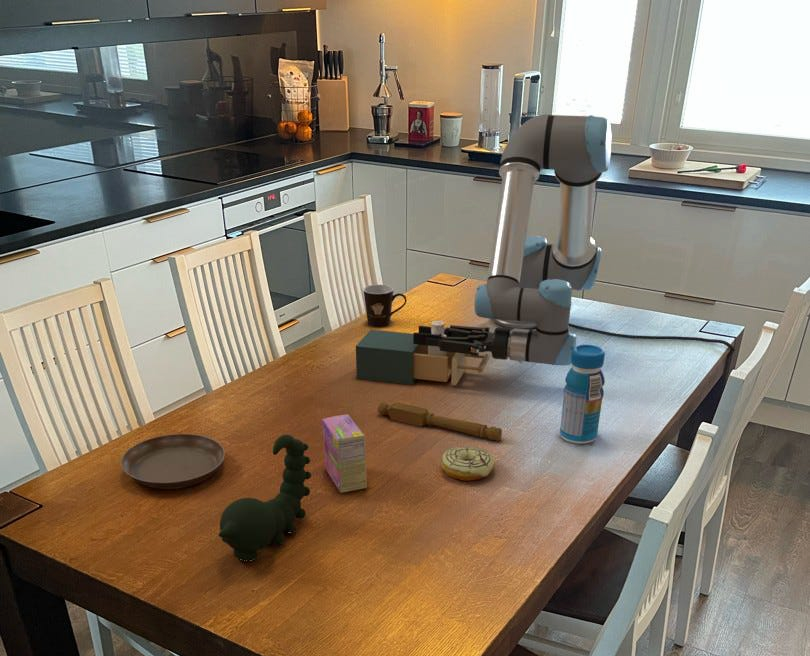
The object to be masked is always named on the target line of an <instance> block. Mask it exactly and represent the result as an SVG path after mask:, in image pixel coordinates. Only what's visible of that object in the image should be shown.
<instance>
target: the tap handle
mask: <svg viewBox="0 0 810 656" xmlns="http://www.w3.org/2000/svg"><path fill="white" fill-rule="evenodd" d="M377 412H378V413H379V414H380V415H382V416H385V415H388V416H389V418H390V420H391V421H394V422H400V423H403V424H408V425H412V426H415V427H416V426H417V427H420V428H421V427H424V426H426V425H427V426H432V425H434V426H437V427H440V428H445V429H449V430H451V431H456V432H459V433H462V434H467V435H469V436H470V435H471V436H474V437H479V438H486V437H487V439H488V440H491V441H496V442H499V441H500V440H501V438H502V435H503V430H502V428H500V427H496V426H490V427H488V425H487V424H482V423H479V422H473V421H467V420H461V419H456V418H451V417H445V416H439V415H435V413H432V412H431V413H430V412H429V411H428V408H425V407H420V406H415V405H411V404H406V403H401V402H394V403H392V404H390V405H389V404H388V403H386V402H381V403H379V404H378V407H377Z"/></svg>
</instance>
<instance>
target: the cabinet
mask: <svg viewBox="0 0 810 656" xmlns="http://www.w3.org/2000/svg"><path fill="white" fill-rule="evenodd" d="M418 347H419V344H413V333H409V332H400V331H391V330H390V331H389V330H380V329H369V331H367V333H365V335H364V336H363V337H362V339H361V340H359V341H358V343H357V344H356V345H355V361H356V362H355V365H356V369H355V371H356V379H357V380H365V381H367V380H368V381H373V382H374V381H375V382H385V383H394V384H400V385H401V384H402V385H410V386H413V385H414V383H415V382H416V380H417V379H415V378H413V354H414V352H415V351H416V350H417V348H418Z"/></svg>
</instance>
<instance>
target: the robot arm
mask: <svg viewBox="0 0 810 656" xmlns="http://www.w3.org/2000/svg"><path fill="white" fill-rule="evenodd" d="M611 154H612V129H611V123H610V120H608V119H607V118H605V117H603V116H595V115H593V114H592V115H591V114H590V115H567V114H566V115H565V114H564V115H560V114H555V115H554V114H546V113H545V114H539V115H536V116H534V117H531V118H529V119H528V120H526V121H525V122H524V123H522V124H521V125H520V126H519V127H518V128H517V129H516V130H515V132H514V133H513V134H512V135H511V137H510V139H508V141H507V143H506V145H505V147H504V149H503V152H502V154H501V159H500V161H499V168H498V174H499V176H500V177H501V178H502V179H501V185H500V190H499V191H500V192H499V198H498V204H497V210H496V217H495V225H494V232H493V237H492V244H491V245H492V246H491V252H490V259H489V266H488V273H487V281H486V283H484V284H479V285H478V286H477V287H476V292H475V295H474V312H475V315H476V316H477V317H478V318H483V319H488V320H489V319H490V320H493V322H494V323H495V324H496V325H498V326H497V327H495V328H494V331H493V332H491V331H490V327H488V326H485V327H483V326H482V327H476V326H468V325H467V326H466V325H464V326H463V325H453V324H451V325H449V326H448V327H444V334H445V335H447V337H442V334H439V335H437V334H432V331H431V326H425V325H418V331H417V332H415V331H414V332H413V333H412V334H413V344H419V345H428V346H438V347H439V348H440V351H446V352H454V353H463V354H470V355H474V356H479V355H480V353H485V352H490V353H491V357H492V358H493V359H494V360H505V361H506V360H508V359H509V360H510V361H515V362H518V363H519V364H522V363H523V362H524V363H525V362H526V363H535V364H544V365H551V366H561V367H563V366H570V365H572V364H571V356H572V350H573V348H574V347H575V346H577V335H576V334H574V333H571V332H569V331H570V330H569V328H572V329H577V330H580V331H585V332H589V333H595V334H600V335H605V336H610V337H615V338H623V339H624V338H625V339H634V340H635V339H636V340H673V341H675V340H677V341H696V342H703V343H711V344H714V343H715V344H721V345H724V346H726V347H727V348H728V349H729V350H730V351H733V352H735V351H736V350H735V348H734V346H733V345H732V344H731V343H729V342H728V341H726V340H723V339H716V338H715V339H714V338H705V337H699V336H698V337H696V336H679V335H678V336H676V335H674V336H673V335H637V334H635V335H634V334H624V333H617V332H610V331H606V330H600V329H596V328H591V327H586V326H582V325H577V324H573V323H570V318H571V316H570V315H571V310H572V295H573V294H572V293H573V291H578V292H579V291H590V290H591V289H592V288H593V287H594V286H595V283H596V280H597V275H598V270H599V266H600V262H601V257H602V256H601V255H602V249H601V247H599V246H597V245H596V242H595V240H594V239H593V238H592V233H593V232H592V231H593V222H594V221H593V219H594V207H595V194H596V183H597V181H598V180H599V179H600V178H601V177H602V174H603V173H606V172H608V170H609V168H610V164H611V156H612V155H611ZM541 170H548V171H549V170H550V171H551V170H552V171H553V172H554V176H555V178H556V180H557V181H558V182H559V207H558V208H559V209H558V236H557V238H556V239H555V240H554V242H553V243H548V241H547V238H546V237H545V236H539V235H527V233H528V227H529V219H530V214H531V205H532V199H533V191H534V185H535V182H536V181H538V180H539V178H540V175H541ZM534 329H535V330H534Z"/></svg>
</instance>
